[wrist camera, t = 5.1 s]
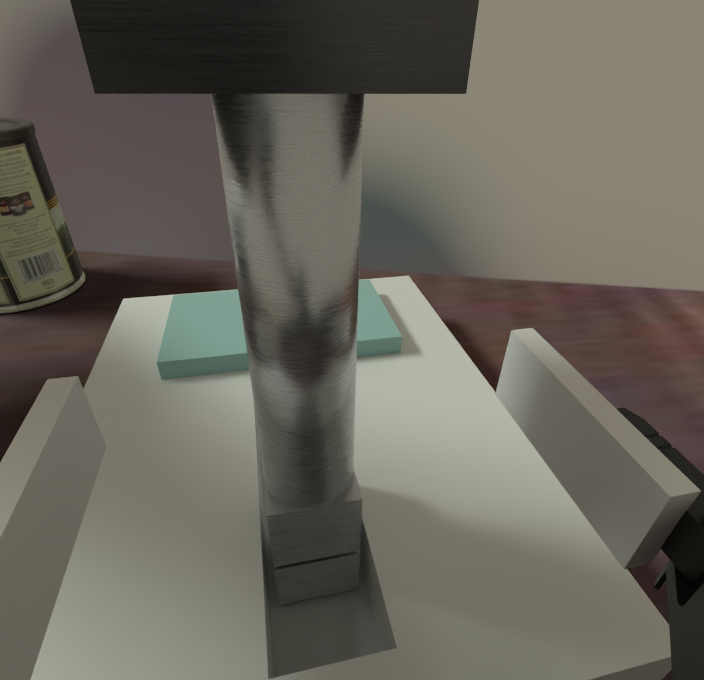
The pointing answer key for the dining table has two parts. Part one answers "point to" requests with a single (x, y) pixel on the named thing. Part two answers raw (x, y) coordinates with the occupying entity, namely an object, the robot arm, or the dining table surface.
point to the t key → (291, 212)
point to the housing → (375, 546)
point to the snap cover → (229, 340)
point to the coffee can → (31, 226)
